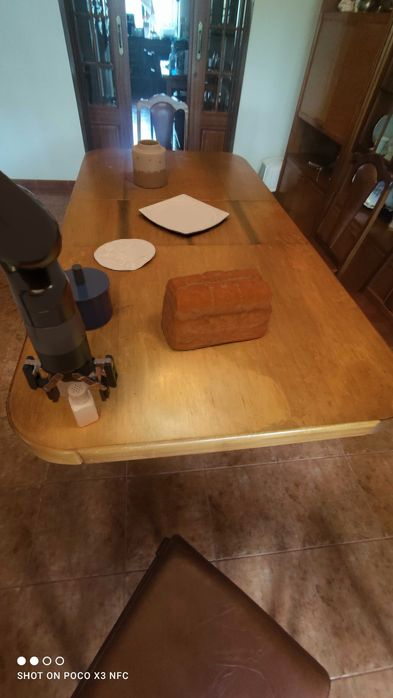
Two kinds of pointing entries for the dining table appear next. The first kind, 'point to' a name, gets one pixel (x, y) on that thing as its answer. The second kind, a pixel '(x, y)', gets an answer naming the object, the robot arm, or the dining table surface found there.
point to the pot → (96, 311)
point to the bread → (215, 308)
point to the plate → (184, 215)
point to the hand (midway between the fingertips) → (81, 397)
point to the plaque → (124, 254)
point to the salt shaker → (82, 404)
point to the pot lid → (87, 282)
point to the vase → (149, 164)
